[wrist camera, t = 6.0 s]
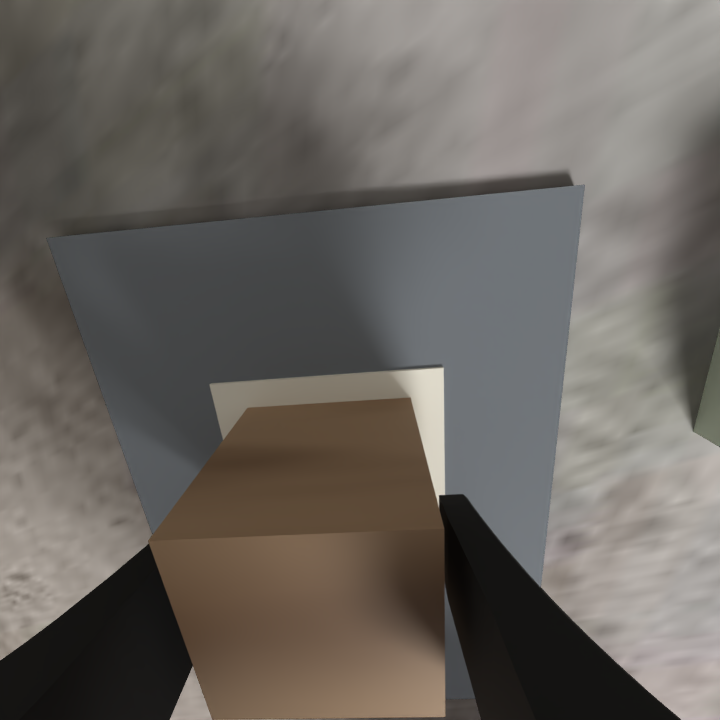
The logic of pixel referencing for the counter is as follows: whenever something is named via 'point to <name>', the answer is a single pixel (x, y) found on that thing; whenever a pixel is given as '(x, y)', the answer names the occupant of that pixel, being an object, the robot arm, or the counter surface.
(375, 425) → the walnut block
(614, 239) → the counter surface
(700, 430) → the sage block
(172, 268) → the mat
